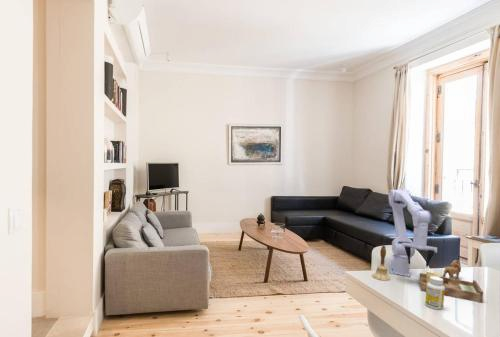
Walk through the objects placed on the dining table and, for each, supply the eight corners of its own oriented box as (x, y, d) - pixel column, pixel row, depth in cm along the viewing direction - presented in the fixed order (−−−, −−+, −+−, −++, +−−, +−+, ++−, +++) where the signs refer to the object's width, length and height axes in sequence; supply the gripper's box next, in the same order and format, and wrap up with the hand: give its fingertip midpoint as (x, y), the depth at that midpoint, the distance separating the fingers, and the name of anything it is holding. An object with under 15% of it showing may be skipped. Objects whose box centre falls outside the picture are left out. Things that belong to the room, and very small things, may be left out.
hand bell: (393, 281, 158) (395, 248, 158) (375, 280, 158) (378, 247, 158) (386, 275, 166) (388, 244, 166) (370, 274, 167) (372, 243, 166)
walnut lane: (420, 290, 148) (421, 280, 148) (419, 279, 163) (419, 270, 162) (482, 302, 138) (483, 292, 138) (474, 290, 153) (475, 280, 153)
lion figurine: (450, 275, 173) (452, 258, 173) (462, 278, 169) (463, 261, 169) (439, 280, 164) (441, 262, 163) (451, 284, 160) (452, 265, 159)
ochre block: (426, 283, 152) (427, 275, 152) (426, 280, 156) (426, 272, 156) (439, 286, 150) (439, 277, 150) (438, 282, 154) (438, 274, 154)
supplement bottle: (431, 309, 128) (433, 280, 128) (421, 302, 135) (423, 275, 134) (447, 309, 129) (449, 281, 129) (436, 302, 135) (438, 275, 135)
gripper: (403, 235, 155) (401, 263, 155) (438, 240, 149) (436, 270, 149) (403, 232, 161) (401, 260, 161) (437, 237, 155) (434, 265, 155)
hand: (418, 264), depth 156 cm, fingers open, 7 cm apart
